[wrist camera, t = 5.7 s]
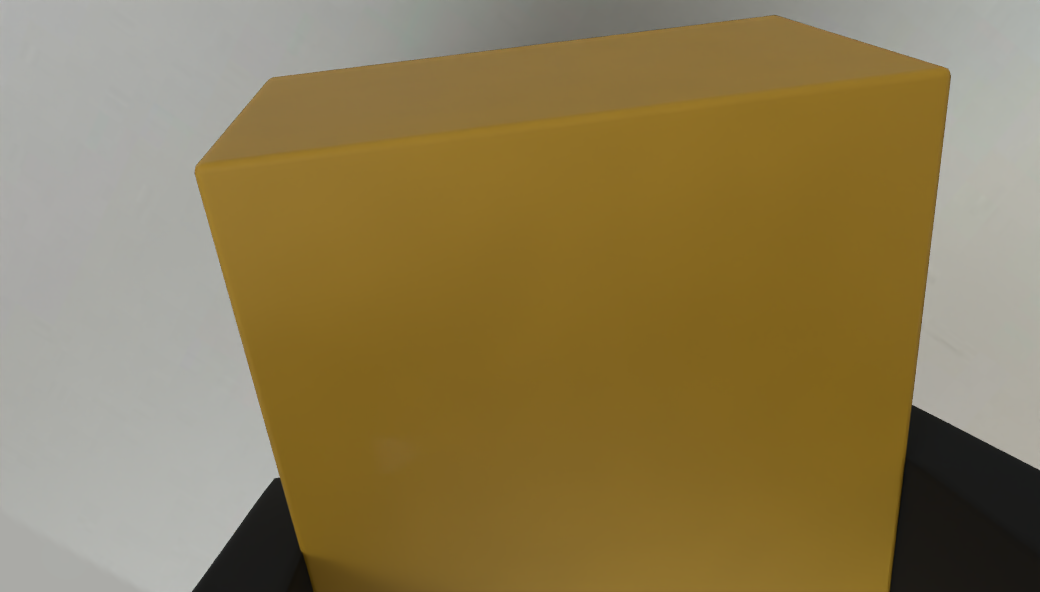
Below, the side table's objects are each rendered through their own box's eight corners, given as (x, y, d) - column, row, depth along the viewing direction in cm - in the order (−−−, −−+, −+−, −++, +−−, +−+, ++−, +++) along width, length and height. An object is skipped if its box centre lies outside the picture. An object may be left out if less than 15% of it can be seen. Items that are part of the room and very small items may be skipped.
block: (758, 662, 12) (857, 880, 9) (414, 720, 12) (413, 962, 9) (780, 13, 8) (957, 66, 6) (266, 76, 8) (188, 166, 5)
